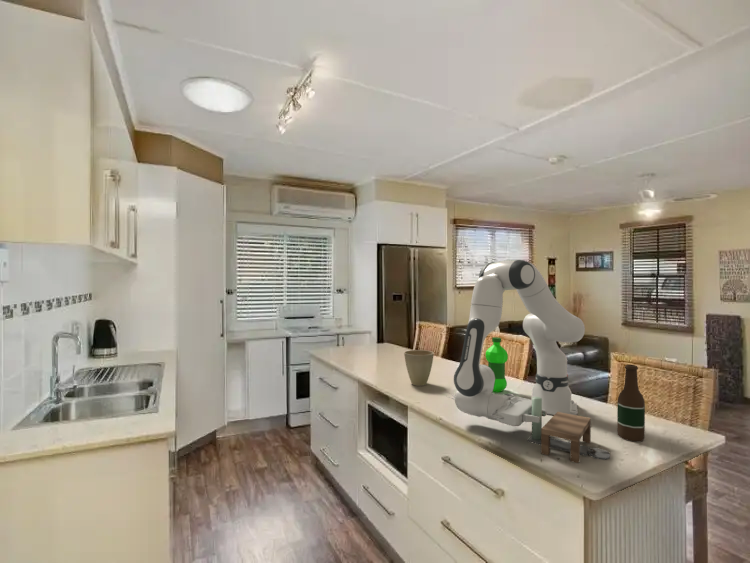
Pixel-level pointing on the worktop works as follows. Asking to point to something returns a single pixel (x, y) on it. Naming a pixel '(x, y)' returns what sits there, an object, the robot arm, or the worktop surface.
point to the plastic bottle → (497, 363)
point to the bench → (566, 432)
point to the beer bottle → (631, 408)
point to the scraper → (553, 442)
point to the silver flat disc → (599, 453)
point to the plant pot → (418, 365)
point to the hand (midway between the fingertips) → (543, 416)
